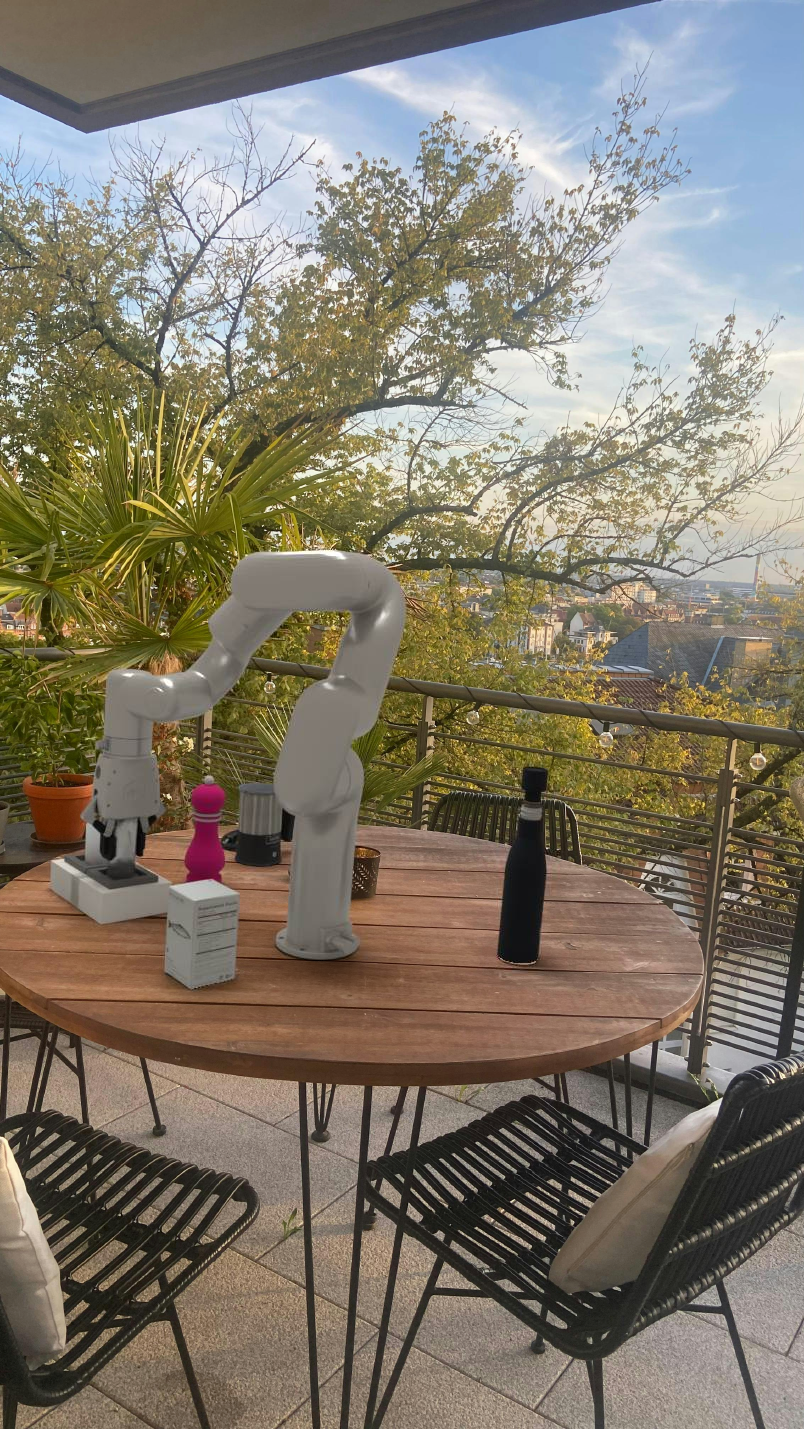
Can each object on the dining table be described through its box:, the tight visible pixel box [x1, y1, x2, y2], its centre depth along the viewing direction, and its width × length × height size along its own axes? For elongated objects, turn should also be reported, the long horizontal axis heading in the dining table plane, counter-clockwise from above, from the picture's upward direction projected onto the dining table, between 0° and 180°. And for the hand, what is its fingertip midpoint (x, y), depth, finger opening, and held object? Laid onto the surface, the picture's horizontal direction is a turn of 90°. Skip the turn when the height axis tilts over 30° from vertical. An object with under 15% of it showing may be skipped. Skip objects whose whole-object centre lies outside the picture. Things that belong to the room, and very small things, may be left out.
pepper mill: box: [183, 775, 226, 884], centre depth 174 cm, size 7×7×20 cm
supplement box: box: [164, 879, 241, 990], centre depth 135 cm, size 7×7×13 cm
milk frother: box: [220, 782, 295, 867], centre depth 195 cm, size 14×16×15 cm
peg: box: [107, 817, 138, 880], centre depth 159 cm, size 4×4×12 cm
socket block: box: [49, 822, 173, 925], centre depth 162 cm, size 20×12×12 cm, turn 42°
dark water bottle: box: [496, 765, 549, 963], centre depth 150 cm, size 6×6×30 cm
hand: (122, 855), depth 159 cm, fingers closed on peg, 4 cm apart
